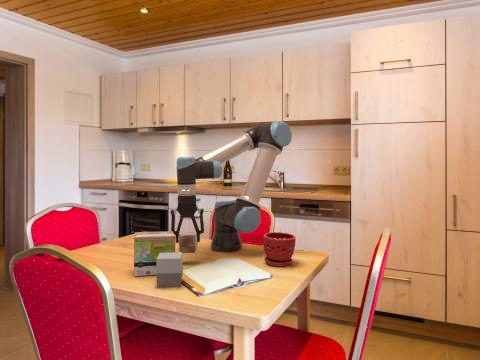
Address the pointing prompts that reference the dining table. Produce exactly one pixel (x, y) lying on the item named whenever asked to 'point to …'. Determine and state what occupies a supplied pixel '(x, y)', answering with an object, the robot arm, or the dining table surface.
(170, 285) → the dark grey block
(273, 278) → the dining table surface
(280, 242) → the plant pot
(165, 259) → the grey square block
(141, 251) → the tea box
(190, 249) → the walnut cube
